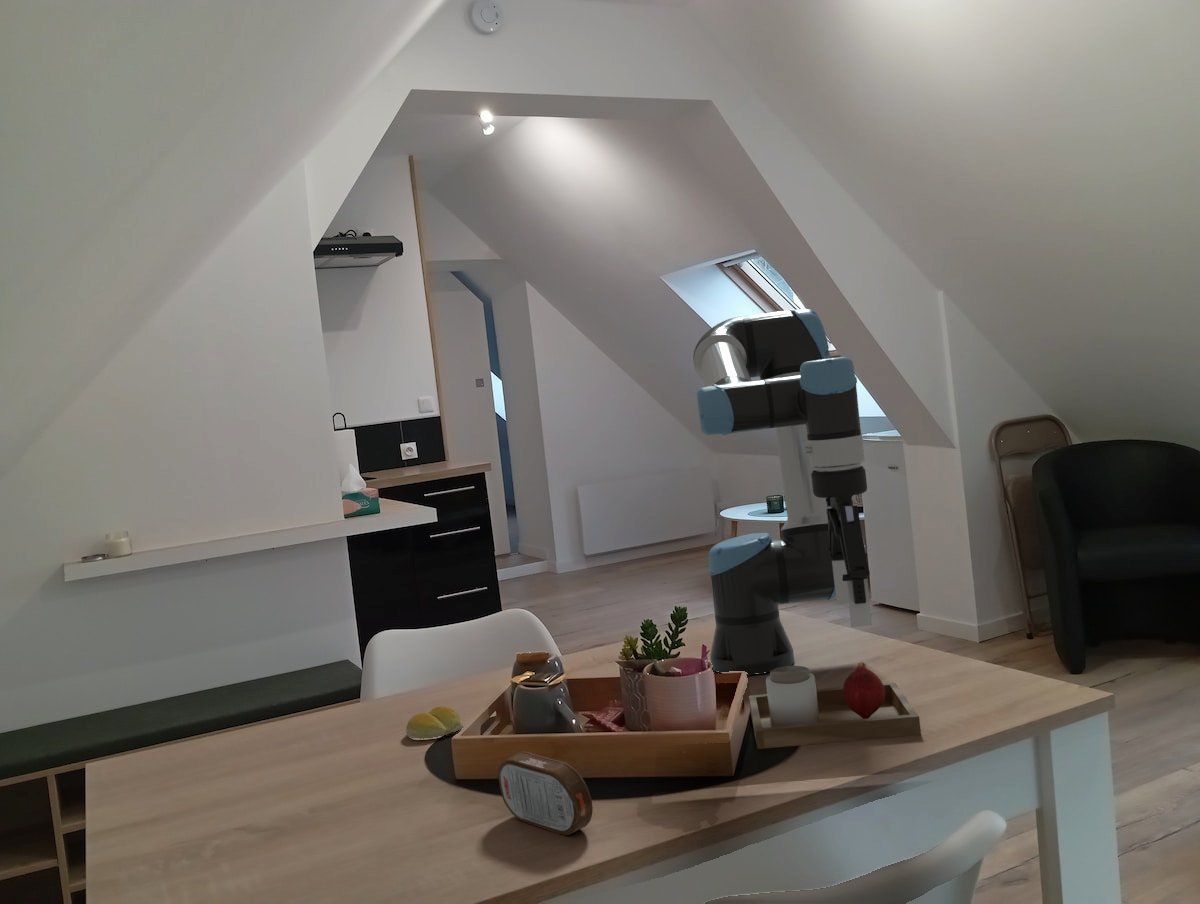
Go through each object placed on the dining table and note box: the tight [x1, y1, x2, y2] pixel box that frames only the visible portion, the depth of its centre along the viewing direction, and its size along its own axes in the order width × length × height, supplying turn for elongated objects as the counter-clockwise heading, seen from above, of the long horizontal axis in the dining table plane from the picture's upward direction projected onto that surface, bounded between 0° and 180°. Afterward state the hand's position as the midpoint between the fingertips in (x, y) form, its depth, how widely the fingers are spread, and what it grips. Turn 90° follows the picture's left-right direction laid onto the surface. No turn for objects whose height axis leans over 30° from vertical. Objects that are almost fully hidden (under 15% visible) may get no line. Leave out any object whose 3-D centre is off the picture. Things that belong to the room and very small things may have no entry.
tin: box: [497, 750, 594, 836], centre depth 122 cm, size 15×3×8 cm, turn 44°
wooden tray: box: [748, 681, 922, 750], centre depth 143 cm, size 16×22×4 cm
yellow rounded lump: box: [405, 705, 463, 739], centre depth 165 cm, size 8×9×4 cm
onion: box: [843, 661, 885, 719], centre depth 143 cm, size 6×6×8 cm
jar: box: [765, 665, 820, 727], centre depth 144 cm, size 7×7×8 cm
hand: (853, 614), depth 142 cm, fingers open, 13 cm apart
